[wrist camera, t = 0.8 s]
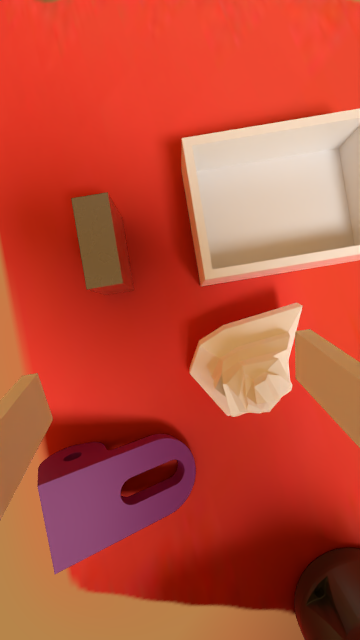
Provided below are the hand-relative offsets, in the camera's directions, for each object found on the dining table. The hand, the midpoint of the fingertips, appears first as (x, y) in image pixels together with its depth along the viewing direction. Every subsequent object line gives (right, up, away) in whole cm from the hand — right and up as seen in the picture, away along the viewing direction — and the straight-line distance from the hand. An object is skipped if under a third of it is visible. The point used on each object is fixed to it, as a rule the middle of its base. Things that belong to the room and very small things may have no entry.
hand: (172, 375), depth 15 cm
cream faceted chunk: (+9, -3, +25) cm, 27 cm away
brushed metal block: (-9, +11, +25) cm, 28 cm away
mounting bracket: (-7, -18, +25) cm, 31 cm away
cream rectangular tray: (+13, +17, +24) cm, 32 cm away
